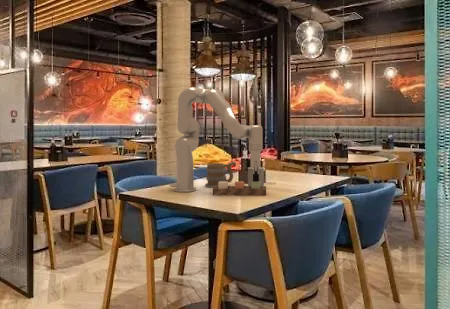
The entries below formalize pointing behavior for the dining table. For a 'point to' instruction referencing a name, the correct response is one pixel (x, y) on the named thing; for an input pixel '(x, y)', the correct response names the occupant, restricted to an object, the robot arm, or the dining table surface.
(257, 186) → the sage key
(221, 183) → the cream key
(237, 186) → the terracotta key
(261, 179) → the grey stone cylinder
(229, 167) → the tankard
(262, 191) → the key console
